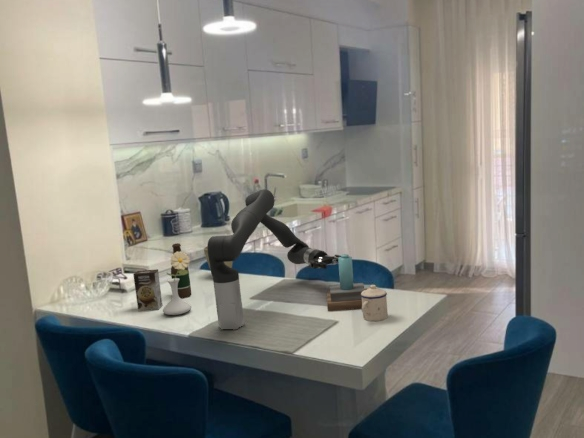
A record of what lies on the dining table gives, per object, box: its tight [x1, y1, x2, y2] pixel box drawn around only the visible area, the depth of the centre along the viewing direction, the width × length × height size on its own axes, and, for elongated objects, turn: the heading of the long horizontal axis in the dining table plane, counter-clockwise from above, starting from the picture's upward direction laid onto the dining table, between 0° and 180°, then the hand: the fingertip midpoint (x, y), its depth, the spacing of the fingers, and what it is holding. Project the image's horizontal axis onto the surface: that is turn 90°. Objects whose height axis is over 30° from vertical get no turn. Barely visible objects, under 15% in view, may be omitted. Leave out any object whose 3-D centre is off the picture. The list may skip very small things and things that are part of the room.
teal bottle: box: [338, 253, 354, 290], centre depth 213 cm, size 5×5×13 cm
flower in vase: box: [162, 250, 192, 316], centre depth 222 cm, size 13×11×25 cm
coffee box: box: [133, 268, 163, 312], centre depth 233 cm, size 9×6×16 cm
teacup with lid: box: [361, 284, 389, 322], centre depth 193 cm, size 12×9×12 cm
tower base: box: [326, 282, 368, 312], centre depth 214 cm, size 16×16×6 cm
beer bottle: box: [170, 243, 192, 300], centre depth 246 cm, size 8×8×24 cm
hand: (335, 264), depth 220 cm, fingers open, 8 cm apart
